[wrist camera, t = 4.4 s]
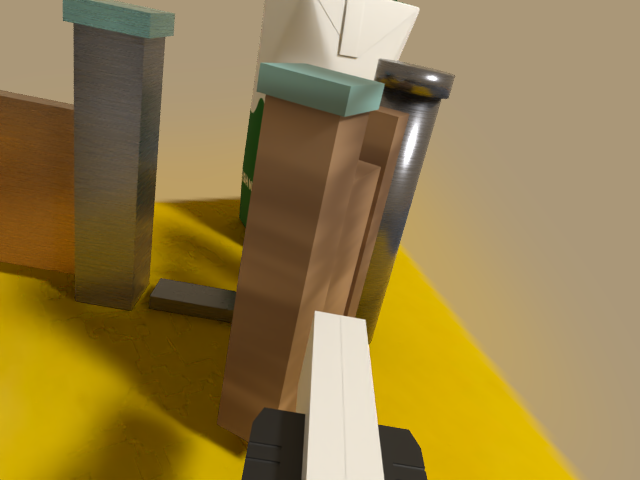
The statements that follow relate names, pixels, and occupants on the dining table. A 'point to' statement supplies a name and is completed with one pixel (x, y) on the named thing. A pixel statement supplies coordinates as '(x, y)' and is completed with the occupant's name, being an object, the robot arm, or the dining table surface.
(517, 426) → the dining table surface
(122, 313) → the dining table surface
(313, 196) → the gate
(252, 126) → the milk carton
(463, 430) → the dining table surface
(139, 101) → the gate posts
